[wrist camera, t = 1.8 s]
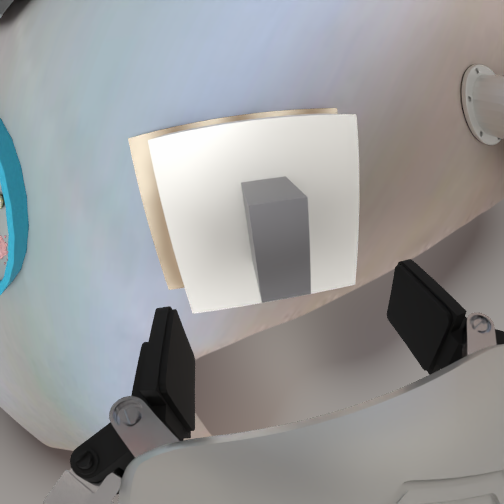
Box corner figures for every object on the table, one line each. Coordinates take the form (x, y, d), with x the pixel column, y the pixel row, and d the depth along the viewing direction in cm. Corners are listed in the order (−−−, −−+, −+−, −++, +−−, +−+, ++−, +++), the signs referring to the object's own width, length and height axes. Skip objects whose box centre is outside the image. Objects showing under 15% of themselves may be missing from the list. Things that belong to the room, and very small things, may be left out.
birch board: (329, 108, 25) (337, 108, 23) (335, 252, 33) (341, 260, 31) (134, 136, 24) (128, 138, 23) (171, 280, 32) (169, 289, 31)
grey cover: (318, 113, 23) (397, 117, 12) (325, 244, 30) (380, 321, 19) (169, 133, 23) (122, 149, 11) (197, 265, 29) (189, 358, 18)
